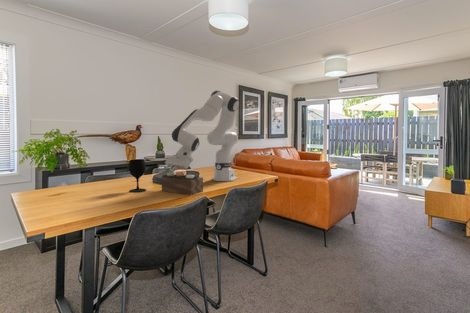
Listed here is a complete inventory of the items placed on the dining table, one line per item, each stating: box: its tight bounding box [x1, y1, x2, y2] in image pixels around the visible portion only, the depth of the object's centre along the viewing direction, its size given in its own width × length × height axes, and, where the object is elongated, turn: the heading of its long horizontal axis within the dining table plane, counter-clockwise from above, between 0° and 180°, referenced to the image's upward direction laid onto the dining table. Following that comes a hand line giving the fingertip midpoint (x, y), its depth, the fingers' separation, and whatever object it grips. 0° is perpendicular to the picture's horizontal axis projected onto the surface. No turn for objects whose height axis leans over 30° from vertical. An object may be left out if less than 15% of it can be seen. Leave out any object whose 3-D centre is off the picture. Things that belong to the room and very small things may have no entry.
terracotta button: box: [175, 171, 185, 176], centre depth 166 cm, size 5×5×2 cm
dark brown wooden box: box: [161, 174, 204, 196], centre depth 168 cm, size 12×24×10 cm, turn 61°
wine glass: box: [128, 158, 147, 194], centre depth 168 cm, size 10×10×20 cm
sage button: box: [166, 172, 176, 176], centre depth 170 cm, size 5×5×2 cm
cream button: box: [185, 174, 195, 179], centre depth 162 cm, size 5×5×2 cm
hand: (170, 171), depth 170 cm, fingers closed
